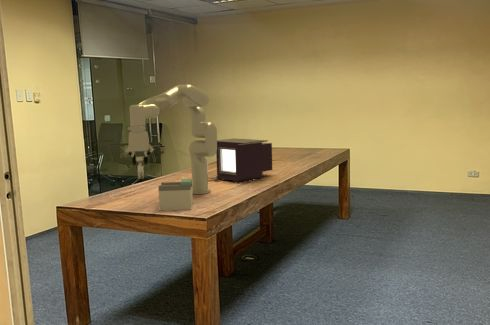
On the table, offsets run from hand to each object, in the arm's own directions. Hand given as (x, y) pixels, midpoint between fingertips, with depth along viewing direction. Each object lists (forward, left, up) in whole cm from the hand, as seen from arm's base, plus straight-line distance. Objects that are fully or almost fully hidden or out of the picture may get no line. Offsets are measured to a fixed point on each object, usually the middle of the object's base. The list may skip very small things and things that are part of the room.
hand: (140, 164), depth 236 cm
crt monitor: (-84, +57, -24) cm, 104 cm away
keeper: (+1, +23, -11) cm, 26 cm away
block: (+1, +18, -23) cm, 29 cm away
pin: (0, 0, -7) cm, 7 cm away
